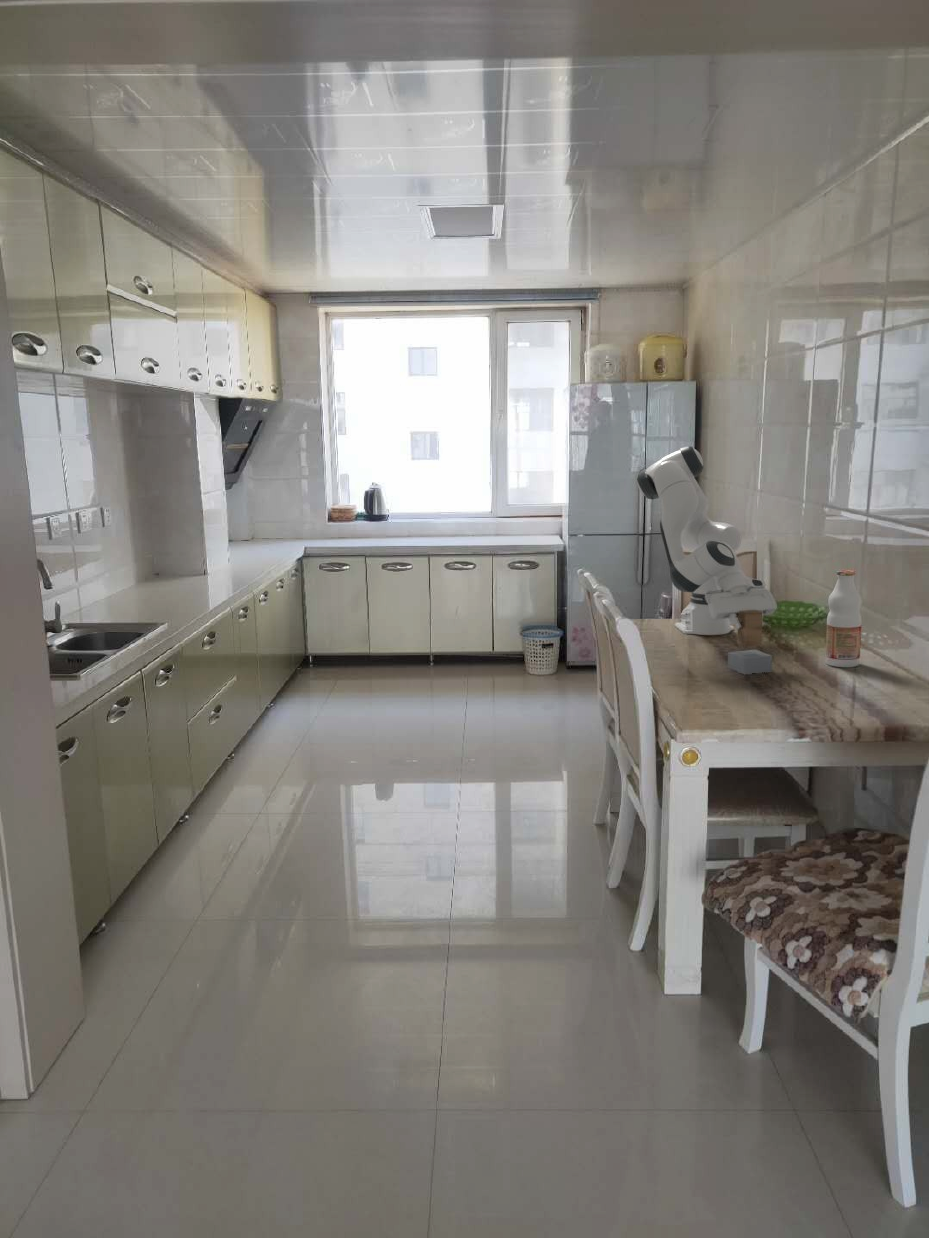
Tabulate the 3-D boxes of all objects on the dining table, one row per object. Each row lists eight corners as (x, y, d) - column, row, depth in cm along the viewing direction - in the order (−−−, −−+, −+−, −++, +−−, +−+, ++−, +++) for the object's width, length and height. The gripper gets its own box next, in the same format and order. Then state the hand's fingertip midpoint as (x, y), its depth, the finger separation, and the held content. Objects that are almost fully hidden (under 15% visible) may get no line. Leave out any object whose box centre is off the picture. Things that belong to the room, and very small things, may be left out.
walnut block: (737, 643, 267) (737, 610, 265) (752, 642, 268) (753, 609, 266) (745, 647, 262) (746, 613, 260) (761, 645, 263) (762, 612, 261)
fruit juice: (818, 663, 270) (821, 570, 265) (841, 658, 274) (844, 567, 269) (843, 669, 262) (847, 574, 257) (866, 665, 266) (871, 571, 261)
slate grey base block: (727, 668, 270) (728, 652, 269) (754, 665, 272) (754, 649, 271) (744, 675, 261) (744, 658, 260) (771, 672, 263) (772, 655, 262)
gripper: (706, 585, 266) (721, 623, 259) (769, 580, 270) (786, 618, 263) (699, 598, 272) (714, 636, 264) (761, 593, 276) (777, 630, 268)
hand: (750, 627), depth 263 cm, fingers closed on walnut block, 5 cm apart
